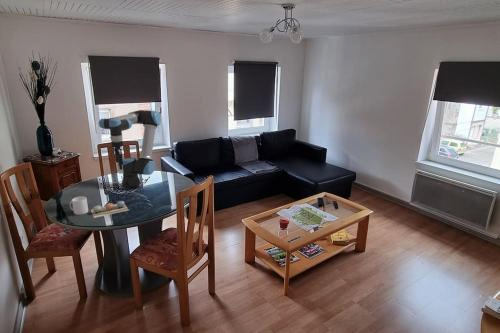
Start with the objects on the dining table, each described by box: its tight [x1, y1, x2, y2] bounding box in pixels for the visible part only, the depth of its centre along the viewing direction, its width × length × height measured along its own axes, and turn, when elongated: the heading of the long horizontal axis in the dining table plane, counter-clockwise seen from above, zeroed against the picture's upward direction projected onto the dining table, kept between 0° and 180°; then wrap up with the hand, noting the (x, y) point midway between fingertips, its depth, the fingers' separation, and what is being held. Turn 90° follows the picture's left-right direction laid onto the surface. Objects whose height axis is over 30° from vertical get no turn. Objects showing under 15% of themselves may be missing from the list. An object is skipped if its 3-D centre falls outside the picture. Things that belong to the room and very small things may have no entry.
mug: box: [69, 195, 89, 216], centre depth 208 cm, size 9×12×11 cm
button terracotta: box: [104, 202, 114, 211], centre depth 213 cm, size 5×5×4 cm
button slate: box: [116, 200, 126, 209], centre depth 217 cm, size 5×5×4 cm
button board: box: [90, 203, 130, 219], centre depth 213 cm, size 15×22×1 cm
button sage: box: [92, 204, 102, 214], centre depth 209 cm, size 5×5×4 cm
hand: (120, 172), depth 224 cm, fingers open, 5 cm apart
